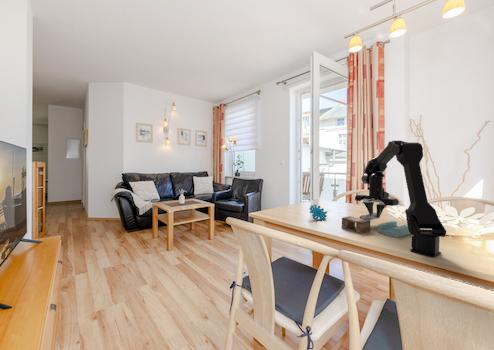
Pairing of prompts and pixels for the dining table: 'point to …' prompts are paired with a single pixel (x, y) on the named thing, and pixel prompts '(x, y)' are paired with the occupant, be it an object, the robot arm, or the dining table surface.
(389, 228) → the cradle
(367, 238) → the dining table surface
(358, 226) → the bearing block
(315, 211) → the gear
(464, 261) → the dining table surface
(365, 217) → the axle
